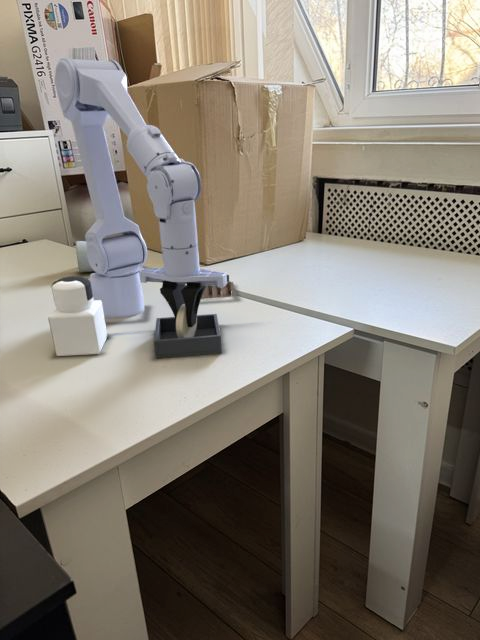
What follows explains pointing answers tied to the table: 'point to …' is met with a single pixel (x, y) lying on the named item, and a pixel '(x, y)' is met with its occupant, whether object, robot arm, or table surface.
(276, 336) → the table surface
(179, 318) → the saucer
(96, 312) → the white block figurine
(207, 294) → the dish rack
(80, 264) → the ceramic mug
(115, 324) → the table surface
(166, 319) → the dark grey open box
